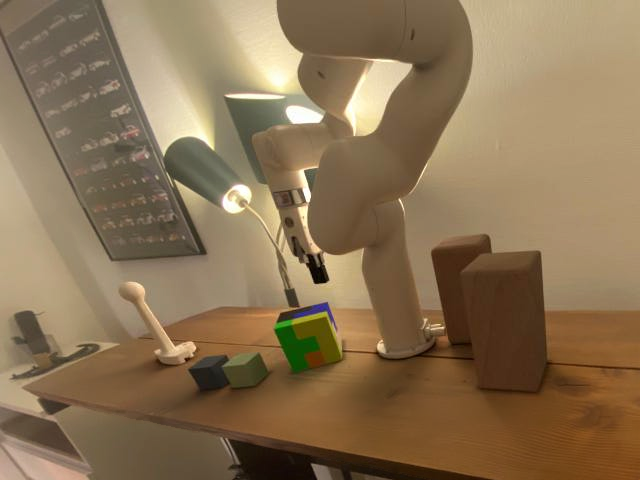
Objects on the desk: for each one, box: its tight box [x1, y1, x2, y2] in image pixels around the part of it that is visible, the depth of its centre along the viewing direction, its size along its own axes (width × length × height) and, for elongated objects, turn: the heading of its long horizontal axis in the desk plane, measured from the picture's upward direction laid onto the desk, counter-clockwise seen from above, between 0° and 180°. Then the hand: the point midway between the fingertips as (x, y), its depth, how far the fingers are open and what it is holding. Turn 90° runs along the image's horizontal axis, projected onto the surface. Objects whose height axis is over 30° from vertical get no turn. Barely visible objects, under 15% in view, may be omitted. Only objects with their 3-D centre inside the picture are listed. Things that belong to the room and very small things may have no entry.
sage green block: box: [222, 351, 270, 389], centre depth 76 cm, size 5×5×5 cm
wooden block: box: [460, 249, 549, 393], centre depth 60 cm, size 10×10×20 cm
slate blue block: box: [187, 354, 230, 391], centre depth 77 cm, size 5×5×5 cm
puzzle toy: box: [273, 301, 343, 374], centre depth 80 cm, size 10×10×10 cm
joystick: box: [118, 281, 197, 366], centre depth 90 cm, size 11×8×20 cm
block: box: [430, 233, 493, 345], centre depth 76 cm, size 10×10×20 cm
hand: (322, 282), depth 88 cm, fingers closed
